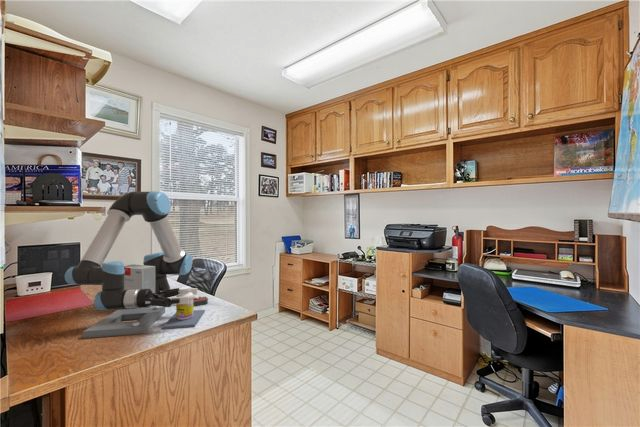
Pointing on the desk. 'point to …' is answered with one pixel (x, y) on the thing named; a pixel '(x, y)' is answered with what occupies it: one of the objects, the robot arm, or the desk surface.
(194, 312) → the mat
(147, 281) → the hard drive box
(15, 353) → the desk surface
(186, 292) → the supplement bottle
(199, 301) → the walkie-talkie
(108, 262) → the robot arm
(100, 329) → the frame
